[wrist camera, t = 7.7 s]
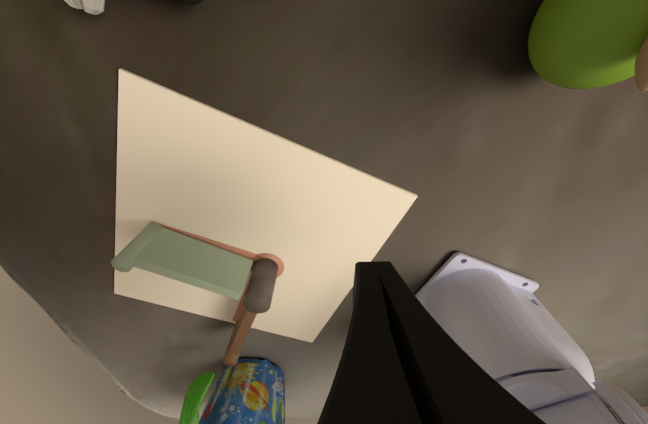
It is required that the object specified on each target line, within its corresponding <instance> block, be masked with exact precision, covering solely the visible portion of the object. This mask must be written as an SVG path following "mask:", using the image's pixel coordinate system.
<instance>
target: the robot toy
mask: <svg viewBox="0 0 648 424" xmlns="http://www.w3.org/2000/svg"><path fill="white" fill-rule="evenodd" d="M64 1H65V2H66V3H67V4H69V5H70V6H71V7H73V8H76V9H84V10H85V12H88V13H90V14H95V15H98V14H100V13H102V12H103V11H104V9H105V0H64ZM180 1H181V2H183V3H185V4H188V5H195V4H198V3H200V2H202V1H203V0H180Z"/></svg>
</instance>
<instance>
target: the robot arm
mask: <svg viewBox="0 0 648 424" xmlns="http://www.w3.org/2000/svg"><path fill="white" fill-rule="evenodd" d="M462 259H463V260H462ZM538 287H539V284H538V283H537V282H536V281H533V280H531V279H528V278H526V277H523V276H520V275H518V274H515V273H513V272H510V271H507V270H505V269H502V268H500V267H497V266H495V265H492V264H489V263H487V262H484V261H482V260H479V259H476V258H474V257H471V256H469V255H466V254H464V253H461V252H456V253H454V254H453V255H452V256H451V257H450V258H449V259H448V260H447V261H446V262H445V263H444V265H443V266H442V267H441V268H440V269H439V270H438V271H437V272H436V273H435V274H434V275H433V276H432V277H431V279H430V280H429V281H428V282H427V283H426V284H425V285H424V286H423V287H422V288H421V289H420V290H419V292H418V293H417V294H416V295H414V294H413V292H412V291H411V290H410V288H409V287H408V286H407V284H406V283H405V282H404V280H403V279H402V278H401V276H400V275H399V273H398V272H397V271H396V269H395V268H394V266H393V265H392V264H391V263H390V262H357V263H356V264H355V274H354V285H353V313H352V318H351V322H350V327H349V331H348V335H347V339H346V343H345V346H344V350H343V353H342V356H341V360H340V363H339V366H338V369H337V372H336V375H335V378H334V381H333V384H332V387H331V389H330V392H329V395H328V397H327V400H326V403H325V405H324V408H323V410H322V413H321V416H320V418H319V421H318V423H317V424H622V423H623V424H648V414H647V413H646V412H645V411H644V410H643V409H642V408H641V407H640V406H639V405H638V404H637V403H636V402H635V400H634V399H633V398H632V397H631V396H630V395H629V394H628V393H627V392H626V391H625V390H623V389H622V388H619V387H617V386H614V385H609V384H608V383H607V382H605V381H603V380H598V381H595V379H594V374H593V370H592V367H591V364H590V362H589V360H588V358H587V357H586V355H585V353H584V352H583V351H582V350H581V348H580V347H579V346H578V345H577V344H576V343H575V341H574V340H573V339H572V338H571V337H570V336H569V335H568V333H567V332H566V331H565V330H564V329H563V328H562V327H561V326H560V324H559V323H558V322H557V321H556V320H555V319H554V318H553V316H552V315H551V314H550V313H549V312H548V311H547V310H546V308H545V307H544V306H543V305H542V304H541V303H540V302H539V300H538V299H537V298H536V297H535V296H534V295H533V294H532V293H533V292H534V291H535V290H536V289H537V288H538ZM595 387H596V389H597V390H598V391H599V392H600V394H601V395H602V396H603V397H604V398H605V400H606V401H607V402H608V403H607V404H608V405H609V407H610V408H611V409H612V410H613V412H614V413H615V414H616V415H617V417H618V418H619V419H620V420H621V422H622V423H621V422H620V421H619V420H618V418H617V417H616V416H615V415H614V413H613V412H612V411H611V410H610V409H609V407H608V406H607V405H606V404H605V402H604V401H603V400H602V399H601V397H600V396H599V395H598V394H597V392H596V391H595V390H594V389H595Z"/></svg>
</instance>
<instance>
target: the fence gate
mask: <svg viewBox="0 0 648 424" xmlns="http://www.w3.org/2000/svg"><path fill="white" fill-rule="evenodd" d="M252 263H253V260H251V259H248V258H246V257H243V256H240V255H238V254H235V253H232V252H229V251H227V250H224V249H221V248H218V247H216V246H213V245H210V244H207V243H205V242H202V241H199V240H197V239H194V238H191V237H188V236H186V235H183V234H180V233H177V232H175V231H172V230H169V229H166V228H164V227H162V226H161V225H160V224H158V223H155V222H152V223H149V224H148V225H147V226H146V227H145V228H144V229H143V230H142V231H141V232H140V233H139V234H138V235H137V236H136V237H135V238H134V239H133V240H132V241H131V242H130V243H129V244H128V245H127V246H126V247H125V248H124V249H123V250H122V251H121V252H120V253H119V254H118V255H117V256H115V257H114V258H113V259H112V261H111V265H112V267H113V268H114V269H116V270H118V271H120V272H129V271H130V270H131V269H132V268H133V267H136V268H139V269H143V270H146V271H149V272H152V273H155V274H158V275H161V276H164V277H168V278H171V279H174V280H177V281H180V282H183V283H186V284H189V285H193V286H196V287H199V288H202V289H205V290H208V291H211V292H214V293H218V294H221V295H224V296H227V297H230V298H233V299H236V300H239V299H240V297H241V295H242V293H243V290H244V287H245V284H246V281H247V278H248V275H249V272H250V269H251V266H252Z"/></svg>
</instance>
